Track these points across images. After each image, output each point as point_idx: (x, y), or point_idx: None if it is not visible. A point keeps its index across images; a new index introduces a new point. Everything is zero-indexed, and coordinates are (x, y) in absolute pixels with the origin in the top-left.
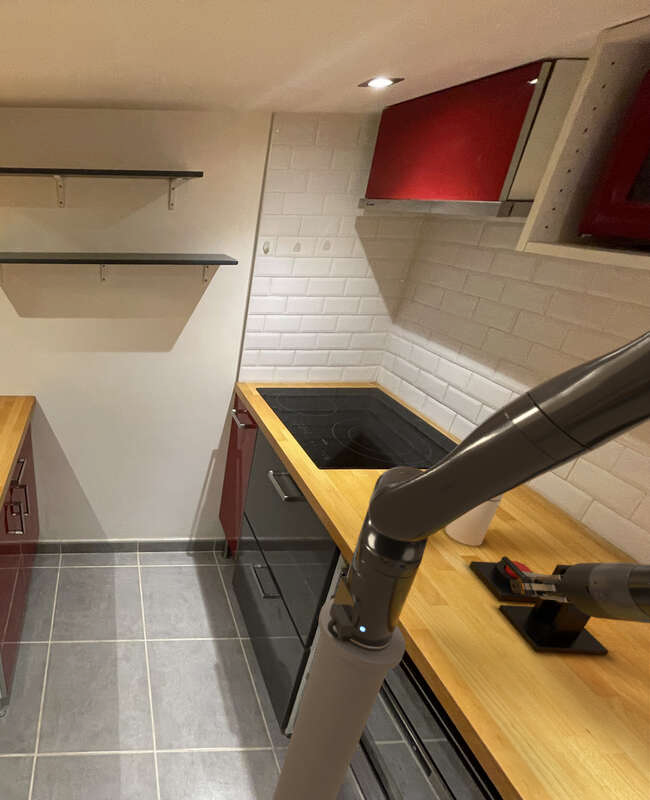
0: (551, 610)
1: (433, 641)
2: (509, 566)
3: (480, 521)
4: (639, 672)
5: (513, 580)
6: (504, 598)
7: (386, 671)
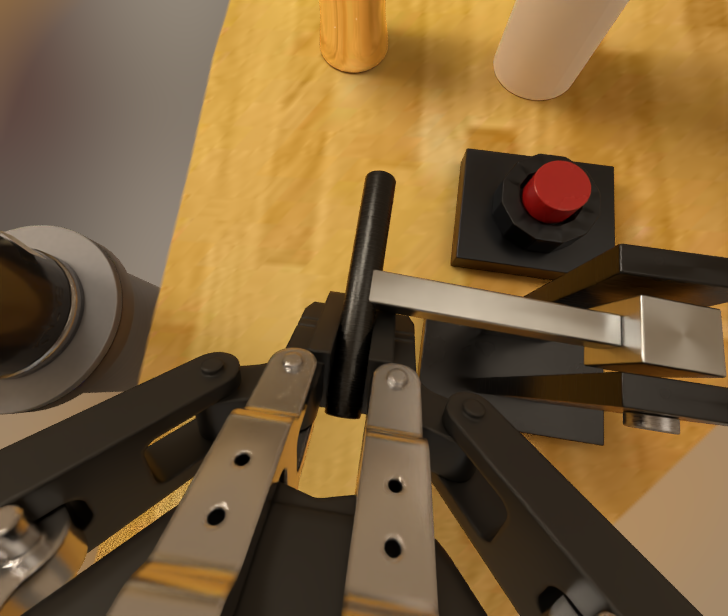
0: None
1: (179, 361)
2: (356, 229)
3: (573, 7)
4: (638, 494)
5: (328, 299)
6: (464, 263)
7: (107, 383)
